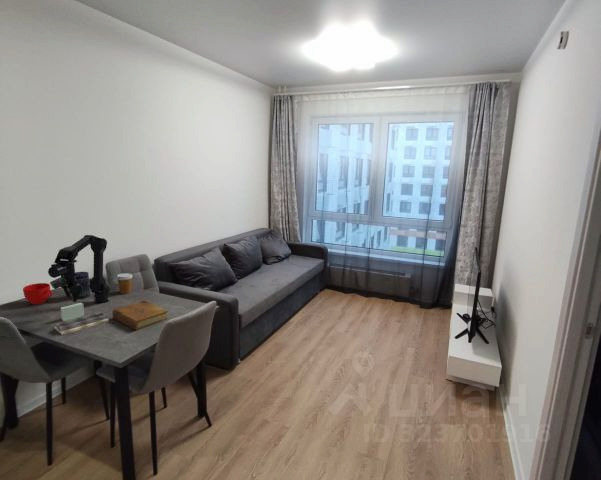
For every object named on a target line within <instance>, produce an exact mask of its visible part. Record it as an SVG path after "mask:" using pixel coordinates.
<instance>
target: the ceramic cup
mask: <svg viewBox="0 0 601 480" xmlns="http://www.w3.org/2000/svg"><path fill="white" fill-rule="evenodd" d="M22 291H23V297H24V299H25V300H26V301H27V302H28V303H30V304H32V305H41V304H44V303H45V302H46V301H47V300H48V299H49V298H51V297H52V296H53V290H51V284H50V283H47V282H39V283H38V282H37V283H32V284H31V283H30V284H29V285H26V286H24V287H23V288H22Z"/></svg>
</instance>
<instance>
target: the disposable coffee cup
mask: <svg viewBox="0 0 601 480" xmlns="http://www.w3.org/2000/svg"><path fill="white" fill-rule="evenodd" d="M133 277H134V276H133V274H132V273H130V272H123V273H119V274H117V275H116V280H117V283H118V288H119V289H118V290H119V293H120V294H122V295H124V294H130V293H131V291H132V282H133V281H132V280H133Z"/></svg>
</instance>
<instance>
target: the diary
mask: <svg viewBox="0 0 601 480" xmlns="http://www.w3.org/2000/svg"><path fill="white" fill-rule="evenodd" d="M167 313H168V310H167V309H165V308H162V307H160V306H158V305H156V304H153V303H151V302H148V301H146V300H140V301H137V302H135V303H134V302H133V303H132V304H128V305H124V306H122V307H118V308H114V309H113V310H112V319H113V320H116V321H118V322H119V323H121V324H123V325H125V326H127V327H128V328H130V329H133V330H135V331H139V330H142V329H145V328H147V327H151V326H153V325H156V324H159V323H161V322H164V320H165V321H167V320H169V318H167Z"/></svg>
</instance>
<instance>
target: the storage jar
mask: <svg viewBox="0 0 601 480" xmlns="http://www.w3.org/2000/svg"><path fill="white" fill-rule="evenodd" d="M75 273H76V274H77V276H76V281H77V283H75V284H80V285H82V286H83V290H82V291H81V292H80V294H79V296H78V298H77V300H84V299H87V298H90V297H91V289H90V287H89V284H90V283H89V281H90V276H89V272H88V271H75Z"/></svg>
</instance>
